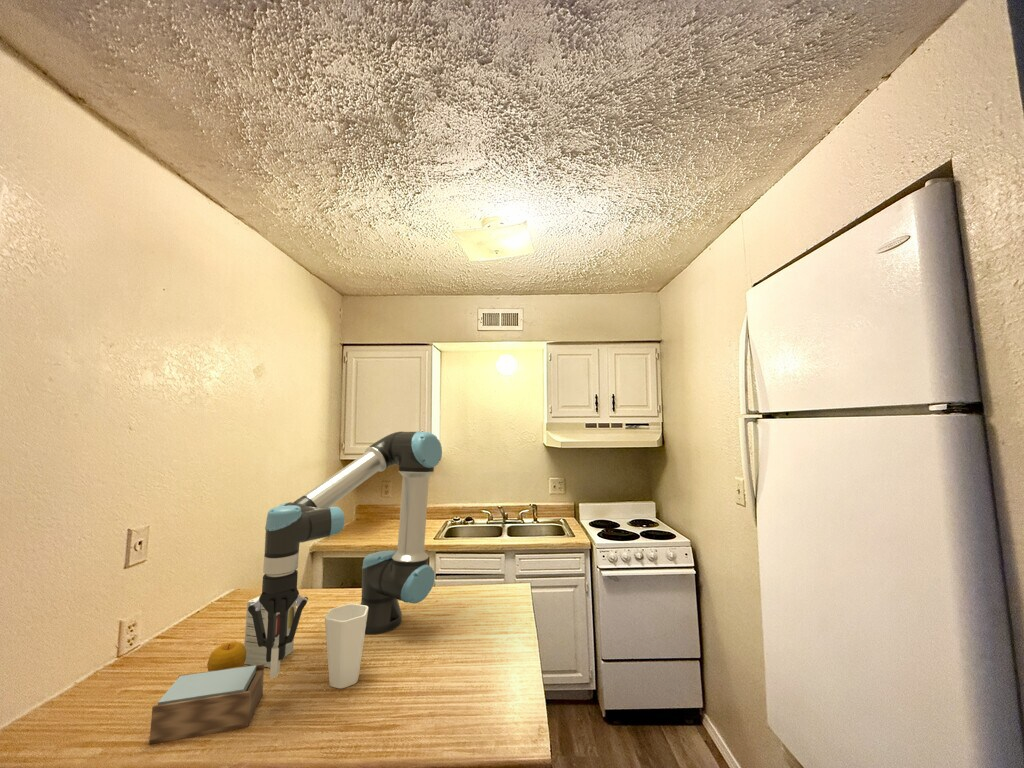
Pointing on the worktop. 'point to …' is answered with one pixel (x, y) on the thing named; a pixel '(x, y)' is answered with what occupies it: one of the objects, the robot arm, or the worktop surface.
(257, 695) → the box
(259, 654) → the supplement box
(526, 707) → the worktop surface
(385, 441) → the robot arm
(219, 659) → the apple
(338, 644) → the cup
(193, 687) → the cover plate
